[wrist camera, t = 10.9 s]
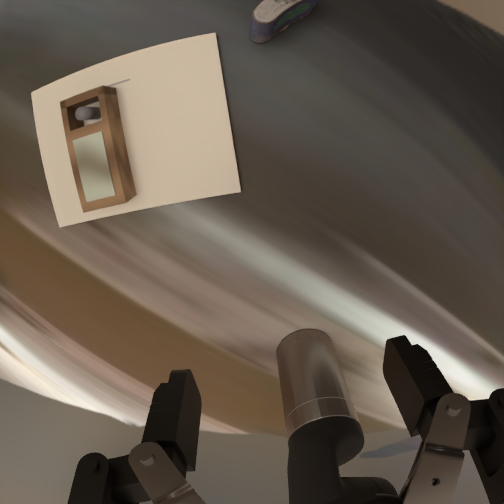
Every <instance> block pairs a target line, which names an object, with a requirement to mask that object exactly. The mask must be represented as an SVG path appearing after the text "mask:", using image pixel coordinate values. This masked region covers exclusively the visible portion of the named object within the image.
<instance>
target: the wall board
mask: <svg viewBox="0 0 504 504" xmlns="http://www.w3.org/2000/svg"><path fill="white" fill-rule="evenodd" d="M102 85H104V86H109V87H114V88H116V92H117V98H118V104H119V110H120V116H121V122H122V127H123V133H124V138H125V143H126V148H127V153H128V158H129V163H130V167H131V172H132V176H133V181H134V185H135V190H136V194H137V195H136V196H135V197H133V198H132V199H131V200H129V201H128V202H127V203H124V204H120V205H115V206H111V207H106V208H102V209H98V210H94V211H89V212H85V213H83V210H82V207H81V203H80V199H79V195H78V191H77V187H76V183H75V179H74V175H73V171H72V166H71V162H70V157H69V152H68V147H67V142H66V137H65V132H64V126H63V120H62V114H61V107H60V102H61V101H63V100H65V99H68V98H70V97H73V96H75V95H78V94H80V93H83V92H86V91H88V90H91V89H94V88H97V87H100V86H102ZM31 95H32V103H33V111H34V118H35V124H36V130H37V136H38V142H39V147H40V152H41V157H42V162H43V166H44V171H45V175H46V179H47V183H48V187H49V191H50V195H51V199H52V203H53V206H54V210H55V214H56V217H57V220H58V224H59V227H64V226H68V225H72V224H76V223H81V222H85V221H89V220H94V219H98V218H103V217H108V216H112V215H117V214H122V213H126V212H131V211H136V210H141V209H146V208H151V207H157V206H162V205H167V204H173V203H178V202H184V201H189V200H195V199H201V198H207V197H213V196H219V195H225V194H231V193H237V192H241V187H240V181H239V175H238V168H237V162H236V156H235V150H234V143H233V137H232V131H231V125H230V118H229V112H228V106H227V100H226V93H225V87H224V81H223V75H222V68H221V62H220V56H219V50H218V43H217V37H216V33H211V34H205V35H200V36H195V37H190V38H185V39H181V40H176V41H172V42H168V43H164V44H160V45H156V46H153V47H149V48H145V49H142V50H138V51H135V52H132V53H129V54H125V55H122V56H119V57H116V58H113V59H110V60H107V61H104V62H102V63H99V64H96V65H94V66H91V67H88V68H86V69H83V70H81V71H78V72H76V73H73V74H71V75H68V76H66V77H64V78H61V79H59V80H57V81H55V82H53V83H50V84H48V85H46V86H44V87H42V88H40V89H38V90H36V91H34V92H32V93H31ZM75 117H76V119H77V120H84V126H86V125H89V124H92V123H95V122H98V121H101V120H102V118H101V112H100V106H99V101H98V102H95V103H92V104H90V105H87V106H84V107H79V108H78V109H77V110H76V112H75Z"/></svg>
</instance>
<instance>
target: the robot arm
mask: <svg viewBox="0 0 504 504" xmlns="http://www.w3.org/2000/svg"><path fill="white" fill-rule="evenodd" d="M276 355H277V362H278V370H279V379H280V386H281V394H282V401H283V409H284V416H285V424H286V431H287V439H288V446H289V457H288V486H289V504H451V501H452V498H453V495H454V492H455V489H456V486H457V482H458V479H459V475H460V472H461V468H462V464H463V461H464V453H463V452H462V450H469V451H470V453H471V456H472V458H473V461H474V463H475V465H476V468H477V470H478V473H479V475H480V478H481V480H482V483H483V486H484V488H485V491H486V493H487V496H488V499H489V502H490V504H504V388H501V389H497V390H495V391H493V392H492V393H491V395H490V397H489V399H484V400H474V401H469V400H468V399H467V398H466V397H465V396H463V395H461V394H458V393H454V392H453V391H452V389H451V387H450V386H449V384H448V383H447V381H446V379H445V378H444V376H443V375H442V373H441V372H440V370H439V368H437V365H436V364H435V362H434V361H432V358H431V356H430V355H429V353H428V352H427V350H425V349H424V348H422V347H421V346H419V345H418V344H416V345H411V343H410V342H409V340H408V339H407V337H406V336H405V335H403V336H399V337H395V338H390V339H387V341H386V347H385V354H384V361H383V374H384V378H385V380H386V382H387V384H388V387H389V389H390V391H391V393H392V395H393V397H394V400H395V402H396V404H397V406H398V408H399V411H400V413H401V415H402V417H403V419H404V422H405V424H406V426H407V429H408V431H409V433H410V435H411V437H413V436H416V435H419V434H420V436H421V438H422V441H421V444H420V447H419V449H418V452H417V455H416V457H415V460H414V463H413V466H412V468H411V471H410V473H409V475H408V478H407V480H406V482H405V484H404V486H403V488H402V490H401V492H400V494H399V496H398V494H397V492H396V490H395V488H394V487H393V485H392V484H391V483H390V482H388V481H387V480H385V479H383V478H379V477H340V474H339V468H338V466H340V465H343V464H345V463H346V462H348V461H350V460H351V459H353V458H354V457H355V456H356V455H357V454H359V452H360V451H361V450H362V448H363V445H364V435H363V432H362V429H361V426H360V423H359V420H358V417H357V414H356V411H355V408H354V405H353V402H352V399H351V396H350V393H349V390H348V387H347V384H346V381H345V379H344V376H343V373H342V370H341V367H340V364H339V361H338V358H337V356H336V353H335V350H334V347H333V344H332V342H331V340H330V338H329V337H328V336H327V335H326V334H325V333H323V332H321V331H318V330H311V329H307V330H300V331H297V332H294V333H292V334H290V335H289V336H287V337H286V338H285V339H284V340H282V342H281V343H280V344H279V346H278V349H277V354H276ZM201 407H202V403H201V396H200V392H199V390H198V387H197V385H196V382H195V380H194V377H193V374H192V372H191V370H190V369H185V370H172V371H171V373H170V377H169V382H168V383H161V384H160V385H159V387H158V388H157V389H156V391H155V392H154V395H153V398H152V404H151V406H150V410H149V411H150V412H149V414H148V418H147V422H146V426H145V430H144V434H143V438H142V441H141V443H140V444H138V445H137V446H135V447H134V448H133V449H132V450H131V452H130V454H128V455H125V456H121V457H116V458H112V459H107V458H106V457H105V456H104V455H102V454H100V453H90V454H87V455H85V456H83V457H82V458H81V459H80V461H79V463H78V465H77V469H76V472H75V476H74V480H73V484H72V488H71V492H70V496H69V500H68V504H139V503H140V502H145V501H150V500H152V502H153V504H206V503H205V502H204V501H203V500H202V498H201V497H200V496H199V495H198V494H197V493H196V491H195V490H194V489H193V488H192V487H191V485H190V484H189V483H188V482H187V481H186V471H195V465H196V455H197V445H198V435H199V426H200V416H201Z"/></svg>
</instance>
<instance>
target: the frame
mask: <svg viewBox="0 0 504 504" xmlns="http://www.w3.org/2000/svg"><path fill="white" fill-rule="evenodd" d="M98 101H99V106H100V112H101V118H102V120H101V121H98V122H95V123H92V124H89V125H86V126H84V120H77V119H76V117H75V112H76V110H77V109H78V108H79V107H84V106H87V105H90V104H92V103H95V102H98ZM60 107H61V114H62V120H63V126H64V132H65V137H66V142H67V147H68V152H69V157H70V162H71V166H72V171H73V175H74V179H75V183H76V187H77V191H78V195H79V199H80V203H81V207H82V210H83V213H85V212H89V211H94V210H98V209H102V208H106V207H111V206H115V205H120V204H124V203H127V202H128V201H129V200H131V199H132V198H133V197H135V196H136V195H137V194H136V190H135V185H134V181H133V176H132V172H131V167H130V163H129V158H128V153H127V148H126V143H125V138H124V133H123V127H122V122H121V116H120V110H119V104H118V98H117V92H116V88H114V87H109V86H104V85H102V86H100V87H97V88H94V89H91V90H88V91H86V92H83V93H80V94H78V95H75V96H73V97H70V98H68V99H65V100H63V101H61V102H60Z"/></svg>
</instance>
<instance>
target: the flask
mask: <svg viewBox="0 0 504 504" xmlns="http://www.w3.org/2000/svg"><path fill="white" fill-rule="evenodd" d="M319 1H320V0H263V1H262V2H260V3H259V4H258V5H257V6H256V7H255V9H254V10H253V14H252V15H253V16H252V24H251V31H250V37H251V39H252V40H253V41H254V42H256V43H264V42H266V41H268V40H270V39H271V38H272V37H273V35H275V34H276V33H278V32H281V31H283V30H285V29H286V28H287V27H288V26H289V24H290V23H292V22H293V23H295V22H296V20H298V19H302V18H303V17H306V16H307V15H309V14H310V13H311V11H312V10H313V9H314V7H315V6H316V5H317V3H318V2H319Z"/></svg>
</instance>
